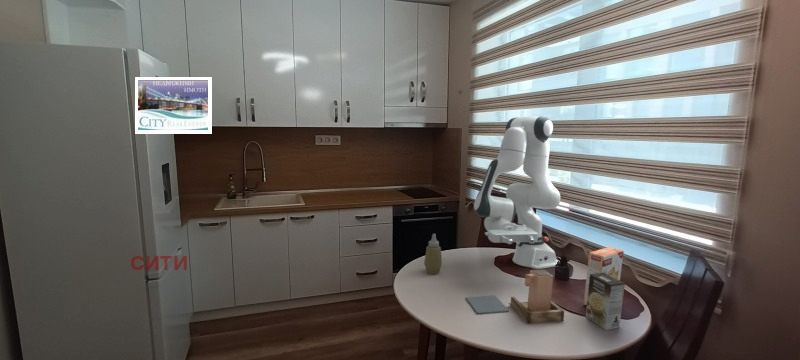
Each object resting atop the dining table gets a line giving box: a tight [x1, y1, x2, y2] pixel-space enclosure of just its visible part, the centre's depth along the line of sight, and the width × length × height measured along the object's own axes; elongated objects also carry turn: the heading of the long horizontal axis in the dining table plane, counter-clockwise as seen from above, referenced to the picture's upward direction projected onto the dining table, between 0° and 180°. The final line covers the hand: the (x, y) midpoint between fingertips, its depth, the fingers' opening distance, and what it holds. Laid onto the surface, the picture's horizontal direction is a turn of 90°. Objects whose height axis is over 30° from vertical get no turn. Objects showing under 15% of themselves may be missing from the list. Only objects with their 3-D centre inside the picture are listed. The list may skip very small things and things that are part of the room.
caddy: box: [508, 296, 565, 324], centre depth 132 cm, size 13×14×4 cm
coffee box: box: [585, 272, 626, 331], centre depth 124 cm, size 9×6×16 cm
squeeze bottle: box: [424, 233, 443, 275], centre depth 165 cm, size 8×8×18 cm
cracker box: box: [583, 246, 625, 306], centre depth 137 cm, size 14×6×21 cm, turn 122°
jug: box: [524, 269, 554, 312], centre depth 131 cm, size 9×6×15 cm, turn 100°
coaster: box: [465, 294, 510, 315], centre depth 136 cm, size 12×12×1 cm
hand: (521, 241), depth 144 cm, fingers open, 8 cm apart
